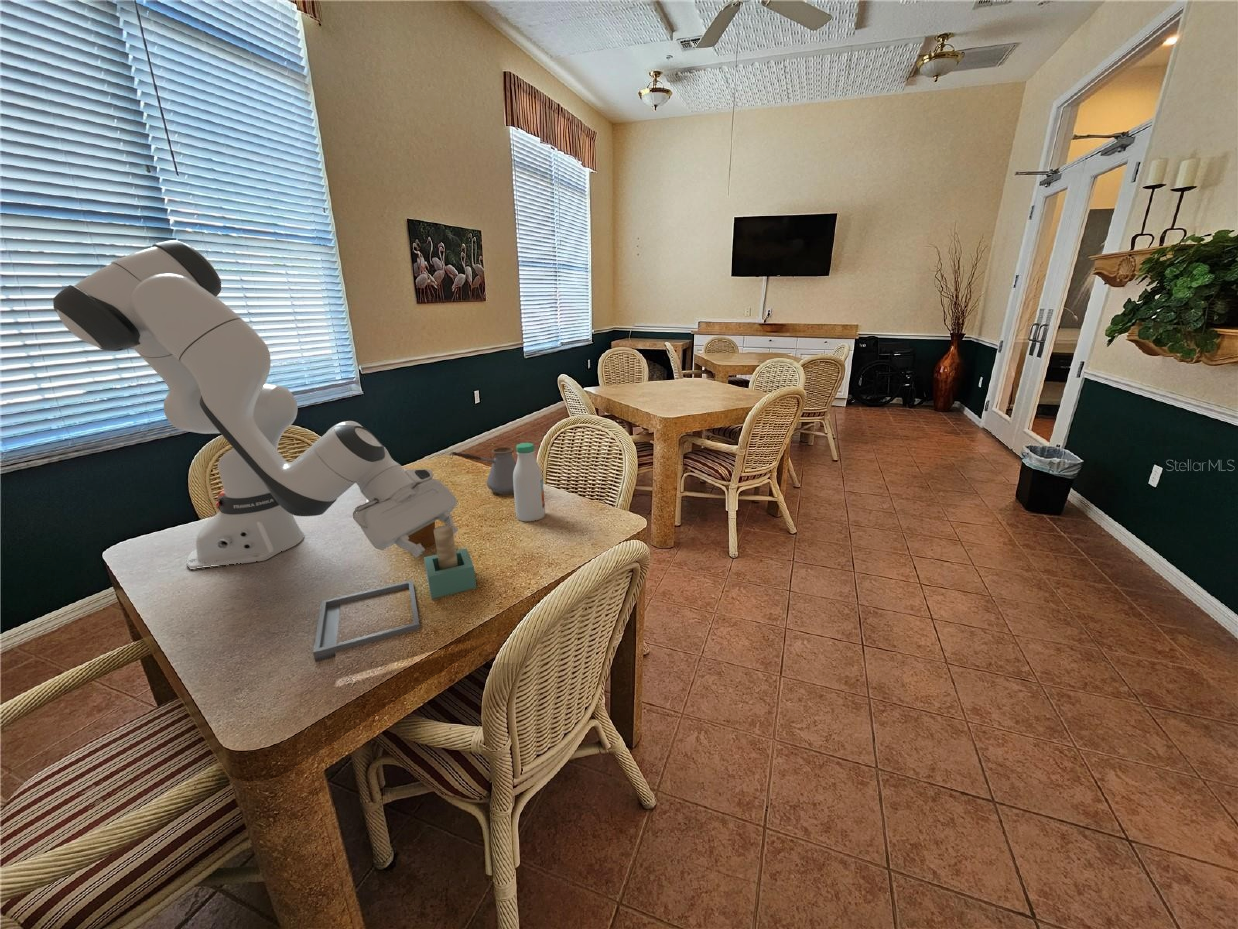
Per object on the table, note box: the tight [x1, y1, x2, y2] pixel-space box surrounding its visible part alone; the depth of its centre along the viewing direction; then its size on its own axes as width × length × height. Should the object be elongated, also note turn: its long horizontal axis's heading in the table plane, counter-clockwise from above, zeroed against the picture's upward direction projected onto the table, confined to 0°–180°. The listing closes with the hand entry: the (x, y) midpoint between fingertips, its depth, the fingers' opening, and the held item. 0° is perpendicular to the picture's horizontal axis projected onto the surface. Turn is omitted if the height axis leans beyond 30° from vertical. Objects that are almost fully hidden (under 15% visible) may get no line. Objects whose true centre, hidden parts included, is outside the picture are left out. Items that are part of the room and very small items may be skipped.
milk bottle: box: [513, 442, 546, 522], centre depth 129 cm, size 8×8×20 cm
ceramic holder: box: [423, 548, 477, 600], centre depth 99 cm, size 8×8×6 cm
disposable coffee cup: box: [408, 521, 436, 549], centre depth 115 cm, size 10×10×12 cm
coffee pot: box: [449, 446, 517, 495], centre depth 146 cm, size 21×12×15 cm, turn 125°
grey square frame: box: [312, 579, 421, 662], centre depth 89 cm, size 16×16×2 cm
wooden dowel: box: [434, 524, 458, 570], centre depth 98 cm, size 4×4×12 cm
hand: (438, 543), depth 97 cm, fingers open, 8 cm apart
